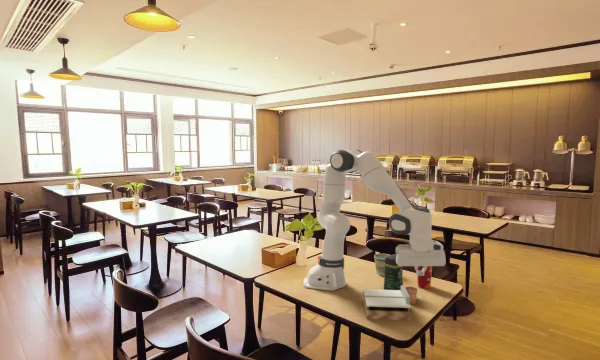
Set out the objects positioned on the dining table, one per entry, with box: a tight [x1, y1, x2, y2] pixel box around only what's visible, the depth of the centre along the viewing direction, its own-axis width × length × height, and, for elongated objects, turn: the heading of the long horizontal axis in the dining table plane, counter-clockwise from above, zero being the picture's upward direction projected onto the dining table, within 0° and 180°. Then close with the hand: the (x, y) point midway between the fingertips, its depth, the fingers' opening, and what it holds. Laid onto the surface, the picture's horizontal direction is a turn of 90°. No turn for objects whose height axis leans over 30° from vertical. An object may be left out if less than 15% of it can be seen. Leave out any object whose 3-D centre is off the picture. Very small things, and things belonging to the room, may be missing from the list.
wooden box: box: [362, 291, 412, 322], centre depth 149 cm, size 18×16×5 cm
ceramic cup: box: [373, 253, 391, 277], centre depth 192 cm, size 13×10×10 cm
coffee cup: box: [417, 266, 433, 290], centre depth 174 cm, size 8×8×15 cm
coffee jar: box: [383, 253, 404, 290], centre depth 168 cm, size 10×8×19 cm
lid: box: [362, 285, 412, 309], centre depth 148 cm, size 18×15×4 cm
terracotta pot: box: [404, 286, 418, 305], centre depth 158 cm, size 6×6×6 cm
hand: (420, 275), depth 146 cm, fingers closed
